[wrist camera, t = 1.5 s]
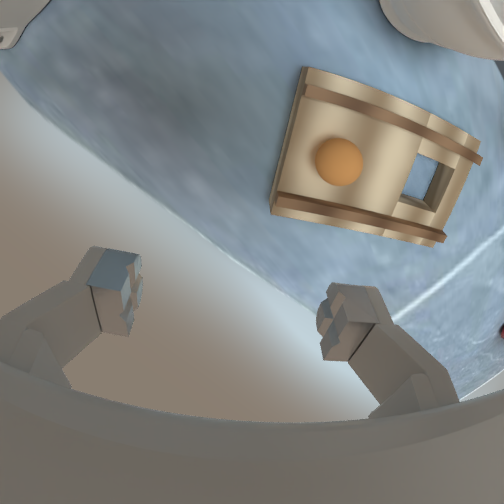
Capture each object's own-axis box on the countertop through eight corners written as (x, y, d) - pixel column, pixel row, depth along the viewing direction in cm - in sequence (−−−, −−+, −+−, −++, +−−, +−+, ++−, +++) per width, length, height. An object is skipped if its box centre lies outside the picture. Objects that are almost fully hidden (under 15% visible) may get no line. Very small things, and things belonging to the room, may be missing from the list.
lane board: (268, 200, 30) (271, 220, 27) (302, 66, 22) (311, 66, 19) (422, 233, 33) (437, 253, 29) (465, 133, 25) (487, 145, 21)
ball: (305, 170, 25) (314, 188, 22) (317, 127, 23) (329, 139, 20) (346, 179, 26) (360, 199, 22) (359, 140, 23) (377, 153, 20)
